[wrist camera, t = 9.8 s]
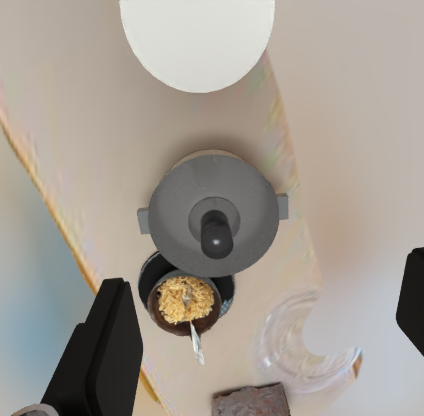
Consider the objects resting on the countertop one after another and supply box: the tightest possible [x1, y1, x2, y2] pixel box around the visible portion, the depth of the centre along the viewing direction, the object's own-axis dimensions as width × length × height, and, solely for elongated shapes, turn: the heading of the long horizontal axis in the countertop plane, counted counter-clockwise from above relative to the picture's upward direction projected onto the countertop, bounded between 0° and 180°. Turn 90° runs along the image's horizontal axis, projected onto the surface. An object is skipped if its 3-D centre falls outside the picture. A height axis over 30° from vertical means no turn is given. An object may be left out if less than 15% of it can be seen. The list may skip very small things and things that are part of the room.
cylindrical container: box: [120, 0, 275, 93], centre depth 26 cm, size 7×7×25 cm
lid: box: [148, 154, 279, 277], centre depth 34 cm, size 15×15×7 cm
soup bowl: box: [138, 252, 235, 366], centre depth 46 cm, size 15×16×7 cm
